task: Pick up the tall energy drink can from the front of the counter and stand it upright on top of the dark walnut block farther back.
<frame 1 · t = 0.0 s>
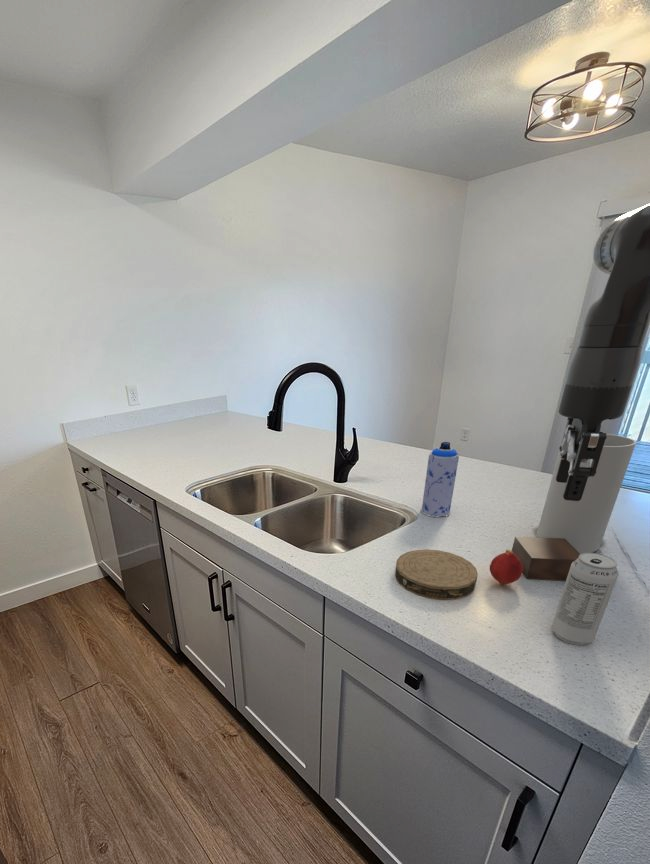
hand: (566, 490, 68), 25 cm above the worktop, tool pointing down, fingers open, 8 cm apart
aerosol can: (435, 512, 125), on the worktop
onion: (502, 584, 90), on the worktop
cylinder vase: (566, 543, 104), on the worktop
energy drink can: (570, 636, 75), on the worktop
wood slice: (433, 579, 93), on the worktop
walnut block: (543, 568, 95), on the worktop
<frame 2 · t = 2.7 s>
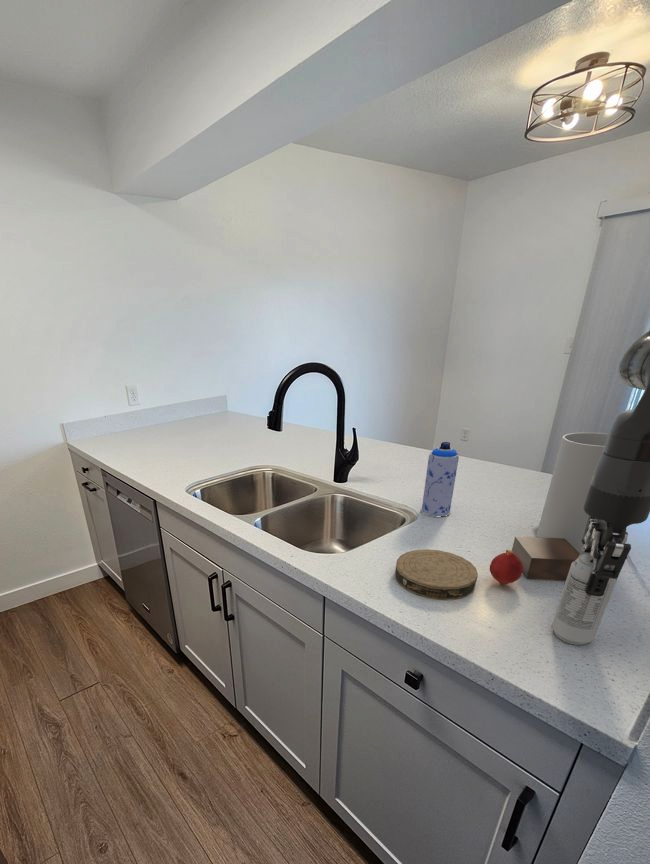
hand: (589, 583, 70), 11 cm above the worktop, tool pointing down, fingers closed on energy drink can, 6 cm apart
energy drink can: (570, 636, 75), on the worktop, touching gripper
everything else where it was.
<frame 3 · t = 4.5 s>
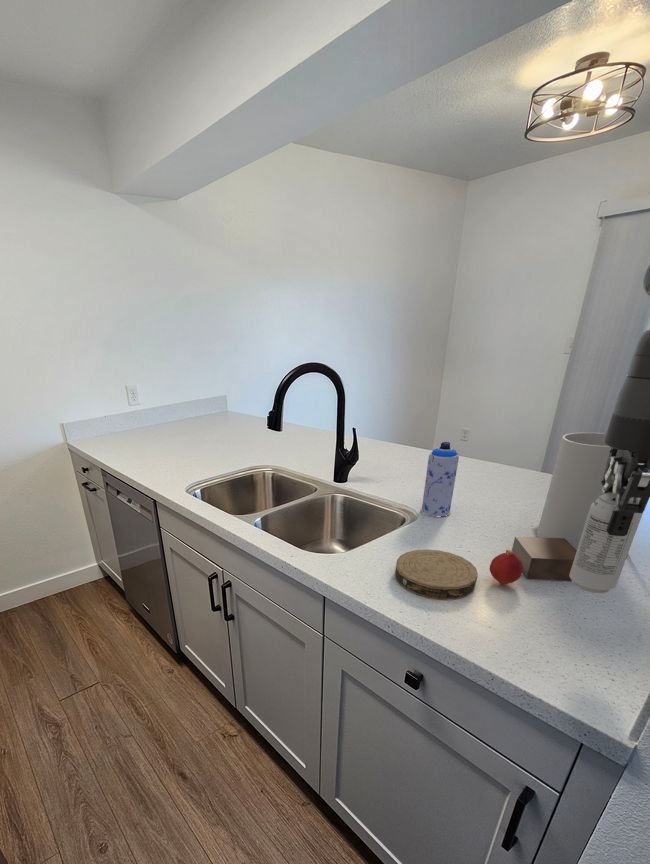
hand: (610, 525, 65), 21 cm above the worktop, tool pointing down, fingers closed on energy drink can, 6 cm apart
energy drink can: (590, 586, 70), point 10 cm above the worktop, touching gripper
everything else where it was.
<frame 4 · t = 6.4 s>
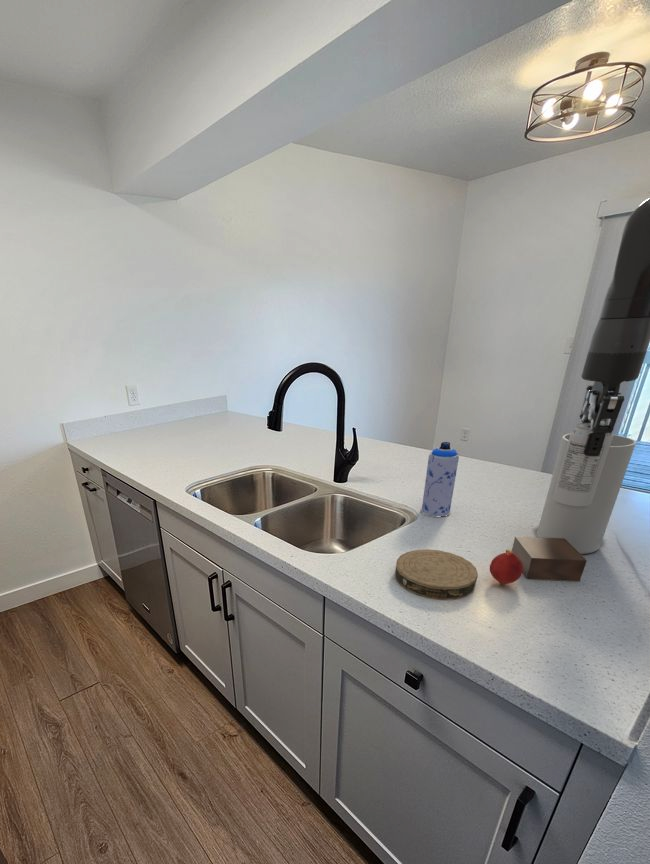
hand: (587, 450, 78), 28 cm above the worktop, tool pointing down, fingers closed on energy drink can, 6 cm apart
energy drink can: (570, 506, 83), point 17 cm above the worktop, touching gripper
everything else where it was.
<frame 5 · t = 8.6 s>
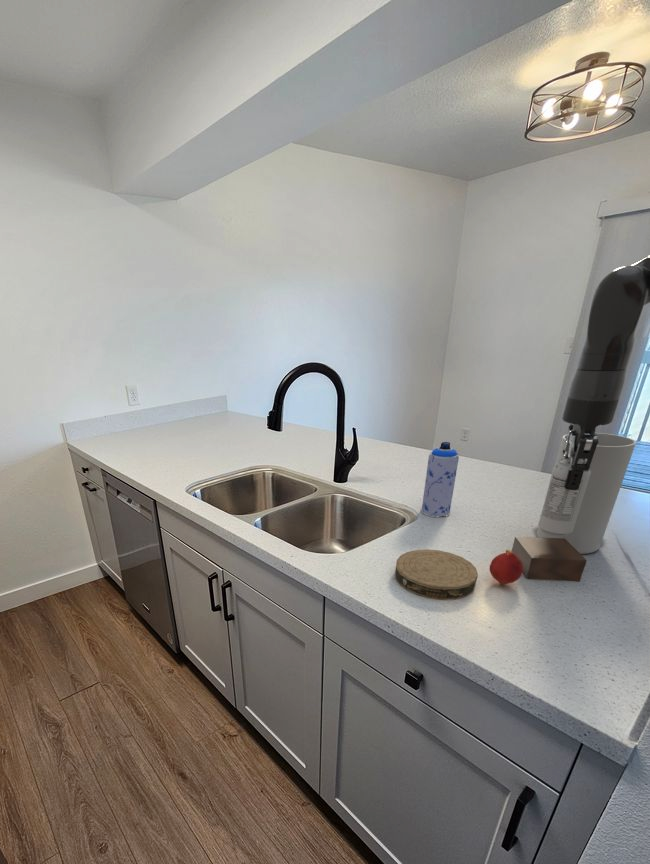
hand: (568, 483, 86), 19 cm above the worktop, tool pointing down, fingers closed on energy drink can, 6 cm apart
energy drink can: (553, 532, 91), point 9 cm above the worktop, touching gripper
everything else where it was.
when the fingers open (16 cm above the worktop, at t = 10.2 s): energy drink can stays where it is, resting on walnut block.
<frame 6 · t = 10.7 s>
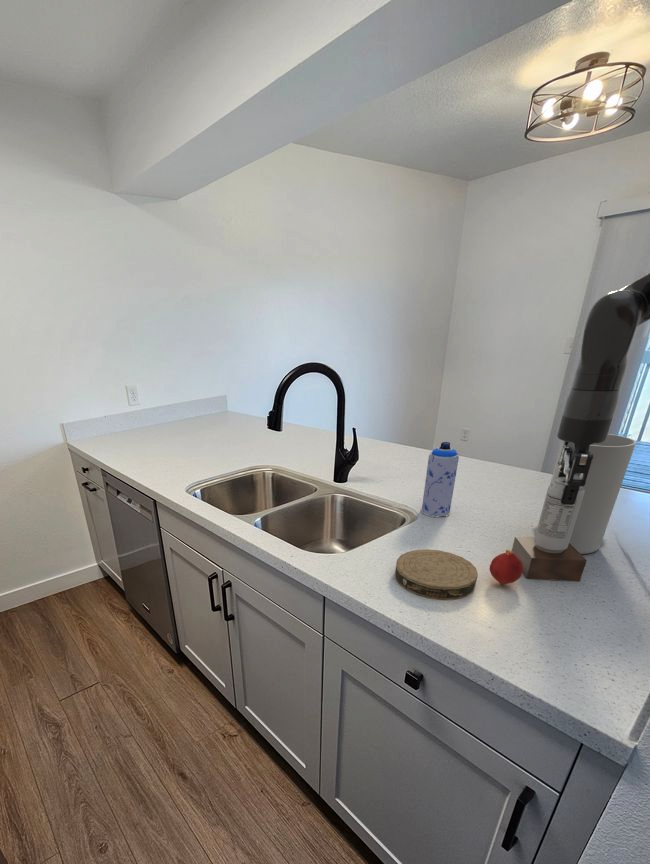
hand: (563, 496, 87), 17 cm above the worktop, tool pointing down, fingers open, 8 cm apart
energy drink can: (549, 548, 92), point 5 cm above the worktop, touching walnut block
walnut block: (543, 568, 95), on the worktop, touching energy drink can
everything else where it was.
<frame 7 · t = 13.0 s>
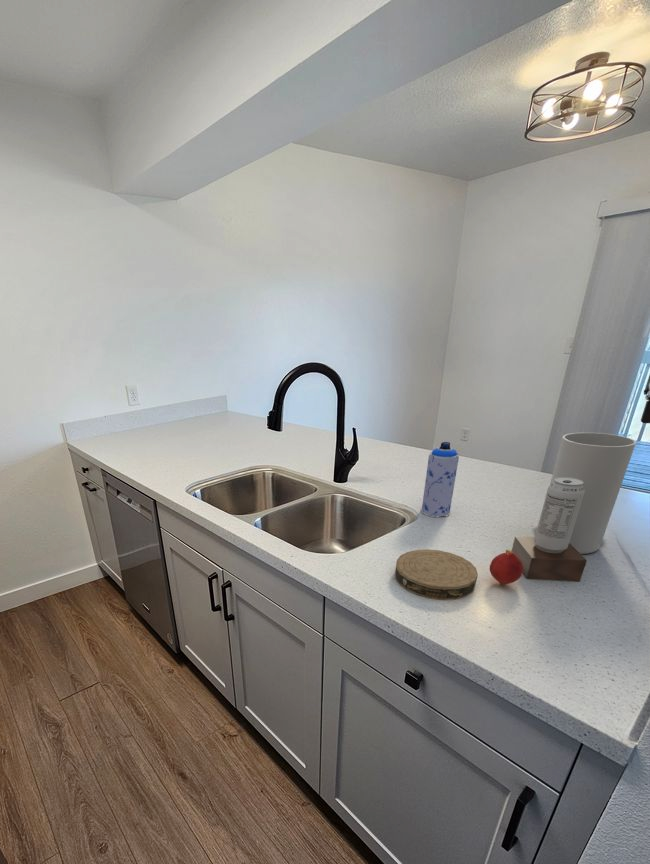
nothing on the worktop moved.
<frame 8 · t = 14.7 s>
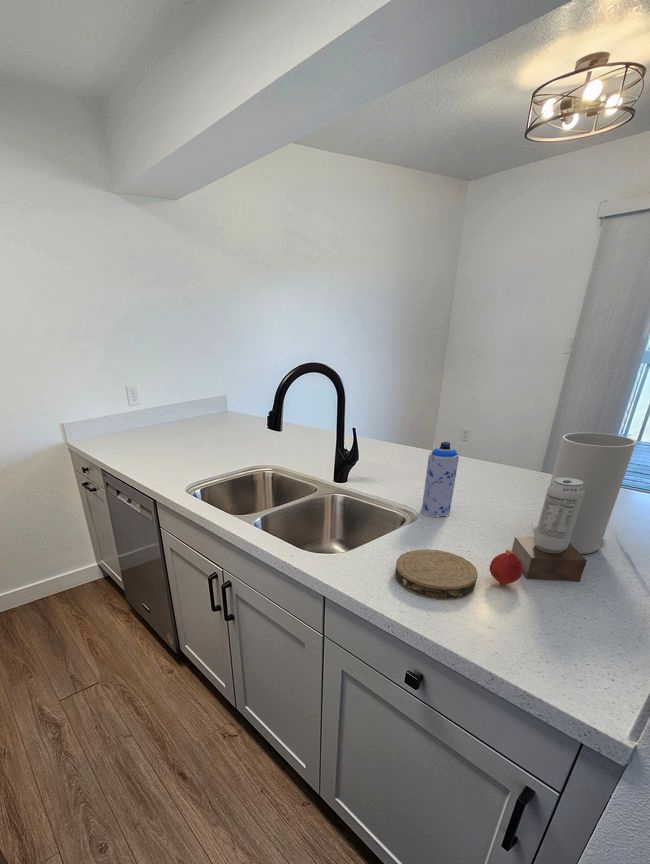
nothing on the worktop moved.
at the end: energy drink can 0.1 cm off-centre on the walnut block, point 4.8 cm above the walnut block's base; energy drink can tilted 0°; the gripper is holding nothing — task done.
